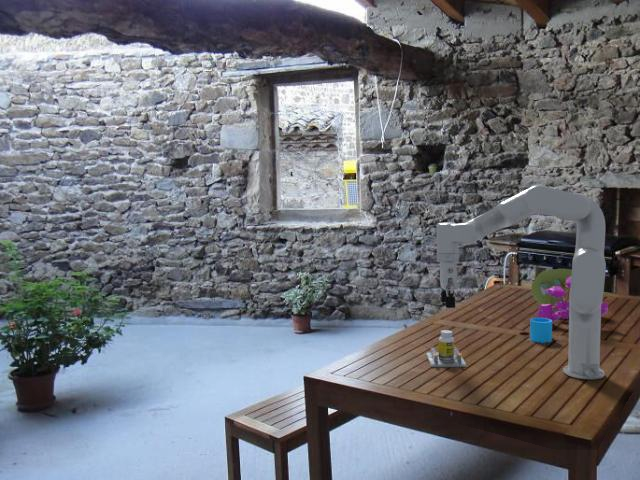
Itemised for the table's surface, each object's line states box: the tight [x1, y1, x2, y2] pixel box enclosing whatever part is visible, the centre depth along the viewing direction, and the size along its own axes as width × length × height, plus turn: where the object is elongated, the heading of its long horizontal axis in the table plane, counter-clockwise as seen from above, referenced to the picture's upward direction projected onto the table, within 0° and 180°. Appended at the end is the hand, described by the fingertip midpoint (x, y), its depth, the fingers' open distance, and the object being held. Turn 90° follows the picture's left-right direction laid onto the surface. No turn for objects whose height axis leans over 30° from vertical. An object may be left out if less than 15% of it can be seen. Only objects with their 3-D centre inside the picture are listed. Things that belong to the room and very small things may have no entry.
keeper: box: [426, 346, 467, 368], centre depth 215 cm, size 14×12×4 cm
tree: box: [530, 268, 609, 325], centre depth 268 cm, size 30×28×35 cm
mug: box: [529, 317, 553, 344], centre depth 240 cm, size 12×8×8 cm
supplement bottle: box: [438, 329, 455, 360], centre depth 215 cm, size 5×5×10 cm
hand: (448, 304), depth 214 cm, fingers open, 9 cm apart
